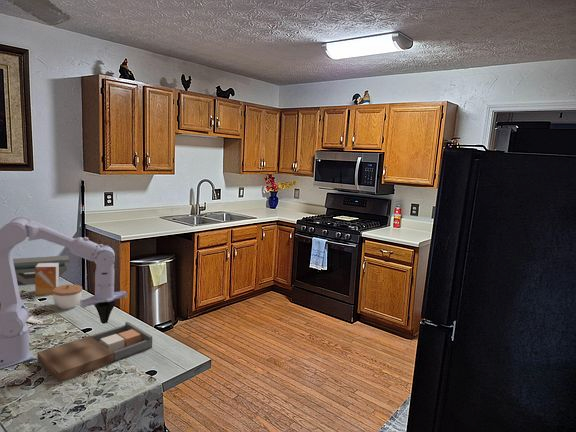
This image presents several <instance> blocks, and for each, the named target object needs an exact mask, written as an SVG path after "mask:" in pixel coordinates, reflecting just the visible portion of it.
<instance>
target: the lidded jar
mask: <svg viewBox="0 0 576 432" xmlns="http://www.w3.org/2000/svg"><path fill="white" fill-rule="evenodd" d="M82 295H83V286H82V285H80V284H63V285H59V286H58V287H56V288H54V289H53V294H52V297H53V298H52V299H53V302H54V304H55V306H57V307H59V309H61V310H70V309H71V310H72V309H73V308H76V307H77V305H79V304H80V301H81V300H82V297H83V296H82Z"/></svg>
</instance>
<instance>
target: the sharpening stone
mask: <svg viewBox="0 0 576 432" xmlns="http://www.w3.org/2000/svg"><path fill="white" fill-rule="evenodd" d="M13 263H14V268H15V273H16V278H17V282H20V283H21V284H23V285H24V286H26V285H35V267H36V266H37V265H38V263H59V278H60V277H61V276H62V275H64V274H65V273H66V271H68V265H67V264H68V263H70V256H69V255H56V256H53V255H52V256H39V257H38V256H37V257H36V256H35V257H23V258H13Z"/></svg>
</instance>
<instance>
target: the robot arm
mask: <svg viewBox="0 0 576 432" xmlns="http://www.w3.org/2000/svg"><path fill="white" fill-rule="evenodd" d="M27 238H28V239H27ZM26 239H27V240H28V241H30V242H31V241H37V240H45V241H47V242H50V243H52V244H56V245H59V246H61V247H65V248H67V249H68V250H69V252H70V253H71V254H72V255H74V256H77V257H79V258H83V259H84V260H87V261H90V262H94V263H95V271H94V295H92V296H89V297H87V298H85V299H81V300H80V302H79V305H80V307H81V308H83V309H85V308H87V307H88V306H94V307H95V309H96V311H97V314H98V317H99V319H100V323H101V324H103V325H104V324H108V323H109V322H108V321H109V318H110V315H111V314H112V311H113V309H114V308H115V305H116V301H115V300H119V299H127V297H128V295H127V294H128V293H127V292H126V291H125V290H122V291H121V290H120V291H115V261H116V258H115V256H116V254H115V251H114V249H113V248H112V247H110V246H109V245H104V244H102V243H100V244H99V243H96V242H94V241H92V240H90V239H89V237H87V236H84V237H82V236H80V237H79V236H78V237H75V238H74V237H71V236H69V235H67V234H65V233H62V232H60V231H59V230H56V229H54V228H51V227H50V226H47V225H45V224H44V223H41V222H39V221H37V220H33V219H31V220H30V219H29V218H28V217H24V216H23V217H22V216H19V217H14V218H13V219H11V220H10V221H9V222H8V223H6V224H4V225H3V226H2V227H1V228H0V370H1V369H5V368H8V367H11V366H13V365H18V364H21V363H24V362H27V361H30V360H33V359H35V355H34V354H32V353H31V352H30V331H29V330H30V327H29V326H28V324H27V322H26V321H27V320H28V318H29V317H30V314H31V313H30V310H29V309H28V308H27V307H26V305H25V303H24V300H23V299H22V298H21V294H20V289H19V284H18V280H17V278H16V273H15V268H14V263H13V259H14V258H13V254H12V250H13V249H14V248H15V247H16V246H17V245H19V244H21V243H23V241H25V240H26Z"/></svg>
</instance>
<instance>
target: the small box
mask: <svg viewBox="0 0 576 432" xmlns="http://www.w3.org/2000/svg"><path fill="white" fill-rule="evenodd" d="M34 273H35V284H34V286H35V287H34V288H35V290H34V292H35V296H40V295H41V296H43V295H45V296H46V295H50V296H51V295H53V289H54V288H56V287H58V286H60V277H59V263H38V265H37V266H36V267H35V272H34Z"/></svg>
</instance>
